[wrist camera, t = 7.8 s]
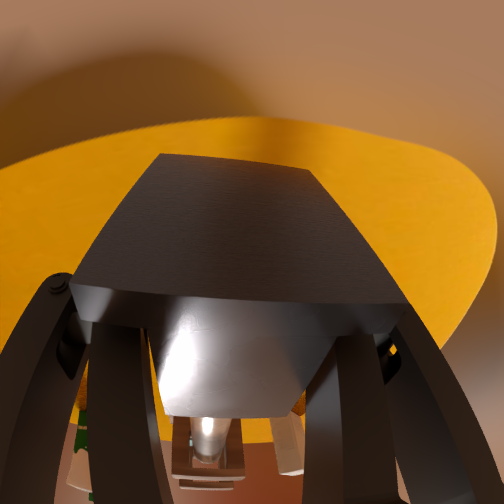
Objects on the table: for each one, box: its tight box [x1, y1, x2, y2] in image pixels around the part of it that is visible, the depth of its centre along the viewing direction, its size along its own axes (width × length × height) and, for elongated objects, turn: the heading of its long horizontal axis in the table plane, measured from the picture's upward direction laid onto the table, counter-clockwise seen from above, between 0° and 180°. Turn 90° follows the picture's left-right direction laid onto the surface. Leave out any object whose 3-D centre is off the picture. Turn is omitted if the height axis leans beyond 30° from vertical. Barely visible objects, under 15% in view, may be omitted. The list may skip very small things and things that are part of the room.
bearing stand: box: [169, 415, 246, 490], centre depth 31 cm, size 24×12×15 cm, turn 171°
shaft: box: [69, 154, 409, 464], centre depth 17 cm, size 30×7×9 cm, turn 171°
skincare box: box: [270, 411, 305, 476], centre depth 40 cm, size 6×4×12 cm
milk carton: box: [66, 411, 94, 502], centre depth 36 cm, size 9×9×20 cm
